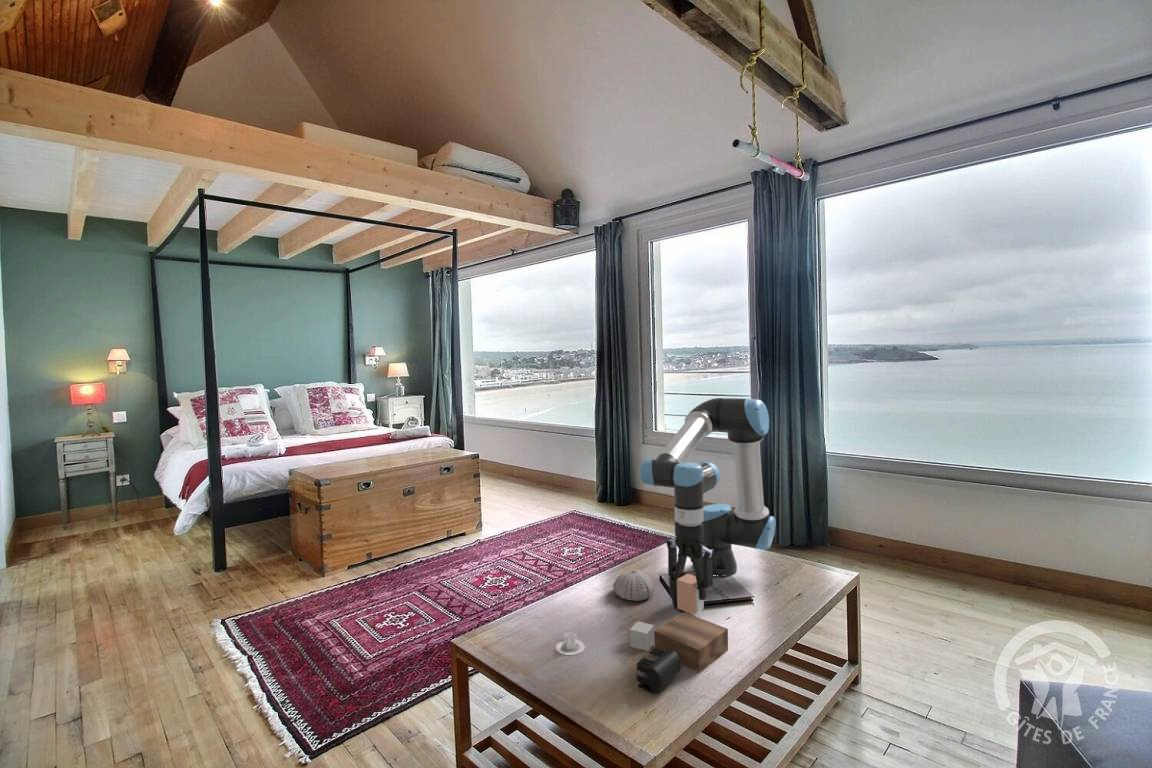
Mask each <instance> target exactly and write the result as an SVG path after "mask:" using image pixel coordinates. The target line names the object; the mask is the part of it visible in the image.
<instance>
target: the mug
mask: <svg viewBox="0 0 1152 768" xmlns="http://www.w3.org/2000/svg"><path fill="white" fill-rule="evenodd" d="M686 574H688V573H687V572H683V576H684V575H686ZM668 589H669V594H670V598H671V602H672V604H673V608H674V609H675V610H676V611H678V612H685V613H686V611H683V610H680V609H678V608H677V591H675V580H674V578H673V577H672V576H671V577H670V576H668Z"/></svg>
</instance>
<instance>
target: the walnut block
mask: <svg viewBox="0 0 1152 768" xmlns="http://www.w3.org/2000/svg"><path fill="white" fill-rule="evenodd" d="M728 629H729V628H727V627H724V626H721V625H718V624H717V623H714V622H711V621H709V620H706V619H703V618H701V617H698V616H696V615H694V614H691V613H688V612H686V611H685V612H684V611H682V613H680V614H678V615H677V616H676V617H674V618H672V619H670V620H669V621H668V622H666V623H665V624H663V625H661V626H660V627H658V628H657V629H654V648H658V649H661V650H663V651H666V652H667V651H668V650H669V649H672V650H673V651H675V652H676V653H677V654H678V656H679V658H680V660H681V666H684V667H685V668H688V669H690V670H692V671H694V672H696V673H701V672H703V671H704V670H705V669H707V667H709V666H710V665H711V664H712V663H714V662H715V661H716V660H718V659H719V658H720V657H721V656H722V655H724V654H726V653H727V652H728V651H729V635H728V634H729V633H728V632H729V630H728Z"/></svg>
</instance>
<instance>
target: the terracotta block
mask: <svg viewBox="0 0 1152 768" xmlns="http://www.w3.org/2000/svg"><path fill="white" fill-rule="evenodd" d="M697 586H698V585H697V581H696V576H695V575H693V574H691V573H687V574H686V575H684V576H682V577H680V578H678V579H677V608H678V609H680V610H683V611H682V612H684V611H685V613H688V614H690V615H694V614H695V615H696V613H697V612H696V604H695V588H696V587H697Z"/></svg>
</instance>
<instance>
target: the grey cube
mask: <svg viewBox="0 0 1152 768" xmlns="http://www.w3.org/2000/svg"><path fill="white" fill-rule="evenodd" d="M654 631H655V625H654V624H650V623H647V622H642V621H639V620H638V621H636V622H635V623H634V624H633V626H632V627H630V628H629V634H630V635H629V636H630V637H629V639H630V644H629V645H630V647H632V648H635V649H639V650H643V651H646V652H648V651H649V650H650V648H651V647H652V646H653V645H654V644H655V641H654Z"/></svg>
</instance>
